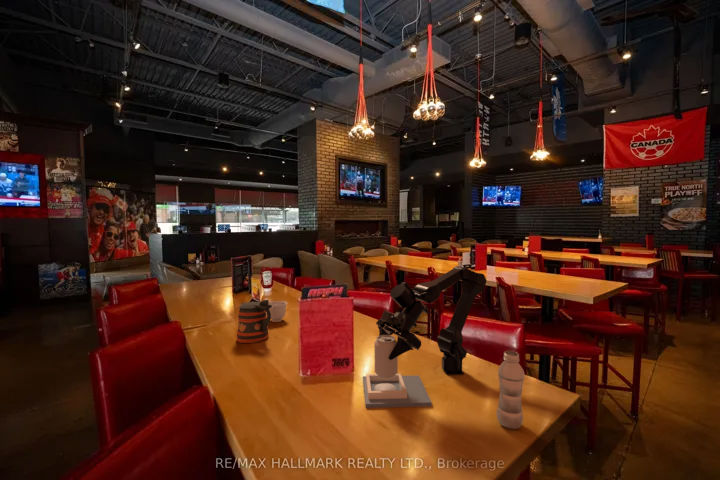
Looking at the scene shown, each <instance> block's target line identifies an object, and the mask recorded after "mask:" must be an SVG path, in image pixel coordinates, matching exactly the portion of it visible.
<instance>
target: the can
mask: <svg viewBox="0 0 720 480" xmlns="http://www.w3.org/2000/svg"><path fill="white" fill-rule="evenodd" d="M396 344H397V340H396V337H395V336H393V335H380V336H379V335H378V336H377V337H376V340H375V341H374V374H377V375H378V376H380V377H382V378H391V377H393V376H395V375H396V374H398V369H399V367H398V366H399V363H398V362H399V360H398V357H399V356H397V357H396V358H394V359H392V360H390V359H389V356H390V354H391V352H392V350H393V349H394V347H395V346H396Z"/></svg>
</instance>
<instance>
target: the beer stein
mask: <svg viewBox="0 0 720 480" xmlns="http://www.w3.org/2000/svg"><path fill="white" fill-rule="evenodd" d="M269 302H270V301H269V299H263V300H261V301H249V302H242V301H241V304H240V305H239V306H238V309H239V311H238V316H237V317H238V318H237V321H238V325H237V330H236V341H237V342H238V343H240V344H253V343H259V342H262V341H265V340H267V339H268V338H269V336H270V334H269V325H270V323H271V320H272V319H271V313H270V310H269V308H272V305H269Z"/></svg>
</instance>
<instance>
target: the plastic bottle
mask: <svg viewBox="0 0 720 480" xmlns="http://www.w3.org/2000/svg"><path fill="white" fill-rule="evenodd" d="M503 360H504V361H502V363H501V364H500V365H499V366H498V369H497V374H498V382H499V383H498V384H499V396H498V403H497V404H498V405H497V408H496V414H495V415H496V419H497V421H498V422H499V424H500V425H501V426H502V427H504V428H506V429H509V430H511V429H512V430H516V429H517V430H518V429H520V428H521V427H522V426H523V421H524V414H523V408H522V394H523V387H524V383H525V382H524V381H525V375H526V374H525V371H524V369H523V368H522V366H521V365H520V354H519V353H518V352H516V351H512V350H506V351H504V352H503Z"/></svg>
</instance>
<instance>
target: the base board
mask: <svg viewBox="0 0 720 480" xmlns="http://www.w3.org/2000/svg"><path fill="white" fill-rule="evenodd" d="M362 385H363V395H364V396H363V397H364V405H365V406H364V407H365V409H370V408H371V409H372V408H373V409H374V408H375V409H376V408H378V409H379V408H409V407H410V408H412V407H413V408H414V407H415V408H418V407H420V408H421V407H423V408H424V407H433V406H432V405H433V404H432V400H431V398H430V396H429V394H428V392H427V390H426V387H425V385H424V383H423V381H422V379H421V377H420V375H418V374H417V375H402V373H397V374H396V375H395V376H393V377H391V378H382V377H380V376H378V375H377V374H376V373H366V374H365V375H363V376H362Z"/></svg>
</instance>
